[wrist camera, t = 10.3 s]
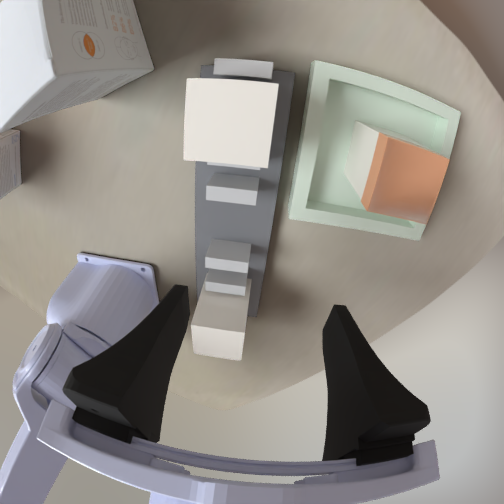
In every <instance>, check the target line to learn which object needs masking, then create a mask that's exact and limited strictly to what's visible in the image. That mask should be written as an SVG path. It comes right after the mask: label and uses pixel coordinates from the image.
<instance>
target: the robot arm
mask: <svg viewBox="0 0 504 504" xmlns="http://www.w3.org/2000/svg"><path fill="white" fill-rule="evenodd" d="M77 259H78V263H77V264H76V265H75V267H74V268H73V269H72V271H71V272H70V273H69V274H68V276H67V277H66V278H65V280H64V281H63V282H62V283H61V285H60V286H59V287H58V289H57V290H56V292H55V293H54V294H53V296H52V298H51V300H50V302H49V305H48V310H47V325H46V326H44V328H43V329H42V330H41V331H40V332H39V333H38V334H37V336H36V337H35V338H34V340H33V341H32V343H31V344H30V346H29V347H28V349H27V351H26V353H25V355H24V357H23V359H22V361H21V364H20V366H19V368H18V370H17V371H16V373H15V375H14V379H13V395H14V398H15V400H16V402H17V405H18V407H19V409H20V411H21V413H22V415H23V417H24V420H25V421H24V422H23V424H22V426H21V428H20V430H19V432H18V433H17V435H16V438H15V439H14V441H13V443H12V446H11V448H10V450H9V452H8V454H7V456H6V459H5V461H4V463H3V465H2V467H1V470H0V504H43V503H44V501H45V499H46V497H47V495H48V493H49V491H50V489H51V488H52V486H53V484H54V482H55V480H56V478H57V477H58V475H59V473H60V471H61V469H62V468H63V466H64V464H65V462H66V461H67V459H68V458H70V459H72V460H74V461H76V462H78V463H80V464H82V465H84V466H86V467H88V468H90V469H92V470H94V471H96V472H99V473H101V474H103V475H105V476H108V477H110V478H113V479H115V480H118V481H120V482H123V483H126V484H128V485H131V486H134V487H137V488H140V489H143V490H146V491H149V492H151V496H150V501H149V504H357V503H362V502H367V501H371V500H376V499H380V498H384V497H387V496H391V495H394V494H398V493H401V492H405V491H408V490H411V489H414V488H417V487H420V486H423V485H426V484H428V483H431V482H434V481H437V480H439V478H440V475H439V468H438V459H437V453H436V447H435V441H434V440H430V441H427V442H423V443H419V444H416V445H414V446H413V445H412V441H414V440H415V436H414V434H415V433H416V432H418V431H420V430H421V429H423V428H424V427H426V426H427V425H428V424H429V423H430V415H429V411H428V407H427V405H426V404H425V403H423V402H422V401H421V400H419V399H418V398H417V397H416V396H414V395H413V394H412V393H411V392H409V391H408V390H407V389H406V388H405V387H404V386H403V385H402V384H401V383H400V382H399V381H398V380H397V379H396V378H395V377H394V376H393V375H392V374H391V373H390V372H389V370H388V369H387V368H386V367H385V365H384V364H383V363H382V362H381V361H380V359H379V358H378V357H377V355H376V354H375V352H374V351H373V350H372V348H371V347H370V345H369V344H368V342H367V341H366V339H365V337H364V336H363V334H362V333H361V331H360V329H359V328H358V326H357V324H356V323H355V321H354V319H353V317H352V316H351V314H350V312H349V311H348V309H347V307H346V306H344V305H334V306H333V308H332V311H331V313H330V315H329V317H328V319H327V322H326V324H325V326H324V328H323V355H324V363H325V370H326V378H327V388H328V412H327V428H326V439H325V446H324V453H323V459H322V461H315V462H314V461H313V462H278V461H276V462H275V461H258V460H246V459H237V458H228V457H221V456H214V455H208V454H202V453H197V452H192V451H186V450H182V449H178V448H173V447H169V446H165V445H161V444H157V442H158V441H159V439H160V431H161V424H162V417H163V411H164V405H165V400H166V394H167V390H168V385H169V381H170V376H171V373H172V369H173V366H174V363H175V360H176V358H177V355H178V352H179V349H180V347H181V344H182V341H183V338H184V335H185V333H186V329H187V325H188V320H189V316H190V309H189V298H188V286H183V285H177V284H176V285H174V286H173V287H172V289H171V290H170V291H169V292H168V293H167V295H166V296H165V297H164V298H163V299H162V300H161V302H160V303H159V298H158V293H157V287H156V282H155V276H154V269H153V267H152V266H151V265H149V264H144V263H138V262H132V261H126V260H120V259H114V258H108V257H102V256H97V255H91V254H85V253H78V255H77ZM143 268H144V269H143ZM157 458H159V459H157ZM160 459H163V460H167V461H171V462H175V463H180V464H184V465H189V466H194V467H199V468H205V469H211V470H217V471H225V472H233V473H242V474H255V475H272V476H274V475H276V476H306V475H322V476H314V477H305V478H304V479H303V480H299V481H295V482H294V484H271V483H253V482H241V481H231V480H222V479H214V478H206V477H200V476H193V475H190V472H189V471H187V470H184V467H183V466H179V465H176V464H173V463H169V462H166V461H163V460H160ZM326 474H329V475H326Z"/></svg>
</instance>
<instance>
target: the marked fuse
mask: <svg viewBox="0 0 504 504" xmlns="http://www.w3.org/2000/svg"><path fill="white" fill-rule="evenodd" d="M449 161H450V159H448V158H446V157H445V156H443V155H441V154H440V153H437V152H435V151H433V150H431V149H429V148H428V147H426V146H424V145H422V144H420V143H419V142H417V141H415V140H413V139H411V138H409V137H407V136H405V135H403V134H400V133H397V132H394V131H391V130H387V129H384V128H381V127H378V126H374V125H371V124H367V123H364V122H360V121H356V120H355V124H354V128H353V133H352V138H351V142H350V147H349V151H348V156H347V160H346V164H345V168H344V172H343V173H344V175H345V176H346V177H347V179H348V180H349V182H350V183H351V185H352V186H353V188H354V189H355V191H356V193H357V194H358V196H359V197H360V199H361V203H362V204H363V206H364V207H365V209H366V211H369V212H374V213H379V214H383V215H388V216H393V217H397V218H401V219H406V220H410V221H414V222H419V223H423V224H427V222H428V220H429V217H430V215H431V212H432V210H433V207H434V205H435V202H436V199H437V197H438V194H439V191H440V188H441V185H442V183H443V180H444V177H445V174H446V170H447V167H448V164H449Z"/></svg>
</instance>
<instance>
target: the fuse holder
mask: <svg viewBox="0 0 504 504" xmlns="http://www.w3.org/2000/svg"><path fill="white" fill-rule="evenodd" d="M294 77H295V73H292V72H286V71H279V70H273V62H267V61H257V60H244V59H225V58H215V62H214V66H211V65H201V75H200V78H212V79H234V80H248V81H258V82H268V83H276V84H279V86H278V94H277V101H276V109H275V117H274V124H273V132H272V139H271V147H270V154H269V162H268V168H261V167H253V166H245V165H236V164H226V163H215V162H203V161H196V169H195V250H196V281H197V303H198V300H199V297H200V293H201V290H202V287H203V284H204V281H205V278H206V274H207V273H208V275H207V278H206V281H205V289H206V291H213V292H220V293H227V294H234V295H242V296H245V289H246V283H247V278H248V279H252V280H251V288H250V296H249V304H248V312H247V316H252V317H257V311H258V306H259V300H260V294H261V289H262V283H263V277H264V271H265V265H266V260H267V254H268V248H269V242H270V236H271V230H272V223H273V217H274V211H275V205H276V199H277V192H278V186H279V180H280V173H281V167H282V160H283V154H284V147H285V140H286V134H287V127H288V120H289V113H290V106H291V99H292V92H293V85H294Z"/></svg>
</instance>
